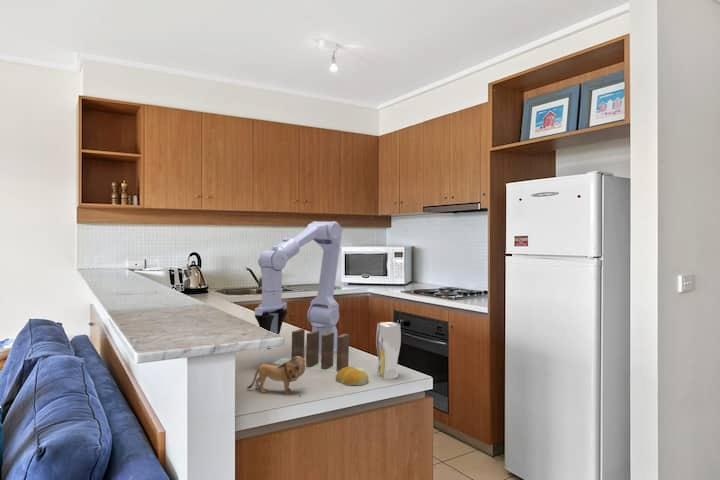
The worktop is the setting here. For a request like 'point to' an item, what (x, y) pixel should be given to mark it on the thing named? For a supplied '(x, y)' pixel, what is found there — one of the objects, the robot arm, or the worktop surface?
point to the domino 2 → (298, 343)
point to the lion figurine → (280, 373)
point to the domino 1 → (274, 324)
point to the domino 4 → (327, 350)
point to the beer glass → (388, 349)
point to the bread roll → (352, 376)
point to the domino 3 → (312, 348)
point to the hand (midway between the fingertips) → (270, 335)
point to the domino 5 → (342, 351)
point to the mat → (317, 367)
